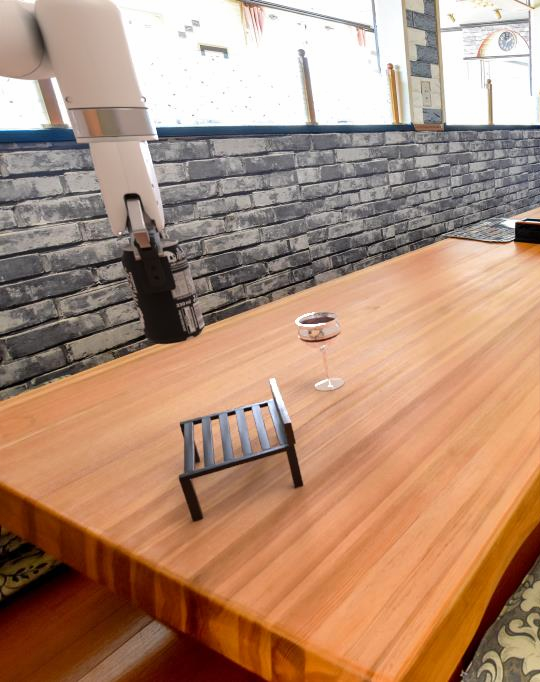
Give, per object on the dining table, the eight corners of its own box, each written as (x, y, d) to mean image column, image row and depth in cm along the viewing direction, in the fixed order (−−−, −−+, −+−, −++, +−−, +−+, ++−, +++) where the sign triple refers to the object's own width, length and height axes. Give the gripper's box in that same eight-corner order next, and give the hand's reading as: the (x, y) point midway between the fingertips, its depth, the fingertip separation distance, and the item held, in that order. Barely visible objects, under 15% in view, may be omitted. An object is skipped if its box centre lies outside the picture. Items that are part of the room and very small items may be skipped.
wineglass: (358, 378, 93) (347, 313, 88) (332, 395, 87) (319, 327, 82) (327, 373, 95) (315, 310, 91) (300, 389, 89) (286, 323, 85)
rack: (193, 521, 60) (170, 455, 56) (191, 460, 71) (173, 401, 68) (305, 485, 65) (291, 422, 62) (287, 433, 77) (274, 377, 73)
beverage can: (143, 336, 68) (113, 243, 64) (199, 323, 72) (175, 235, 68) (152, 350, 64) (120, 252, 59) (212, 336, 68) (187, 242, 63)
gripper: (83, 129, 64) (129, 274, 70) (58, 128, 50) (119, 308, 57) (156, 127, 67) (194, 265, 74) (152, 125, 53) (198, 295, 60)
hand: (161, 282), depth 65 cm, fingers closed on beverage can, 6 cm apart
